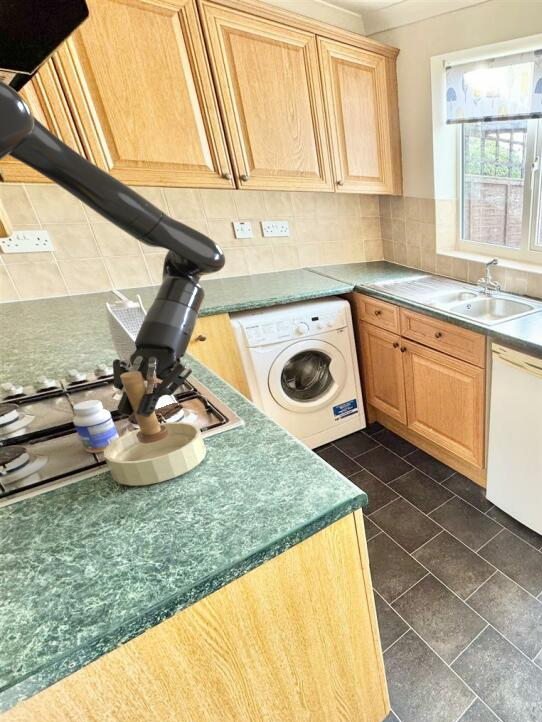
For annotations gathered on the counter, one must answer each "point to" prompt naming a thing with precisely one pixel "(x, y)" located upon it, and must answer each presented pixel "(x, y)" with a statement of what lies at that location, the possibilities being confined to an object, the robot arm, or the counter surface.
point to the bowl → (155, 455)
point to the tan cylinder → (135, 393)
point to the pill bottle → (94, 426)
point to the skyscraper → (129, 332)
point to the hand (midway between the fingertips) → (133, 414)
